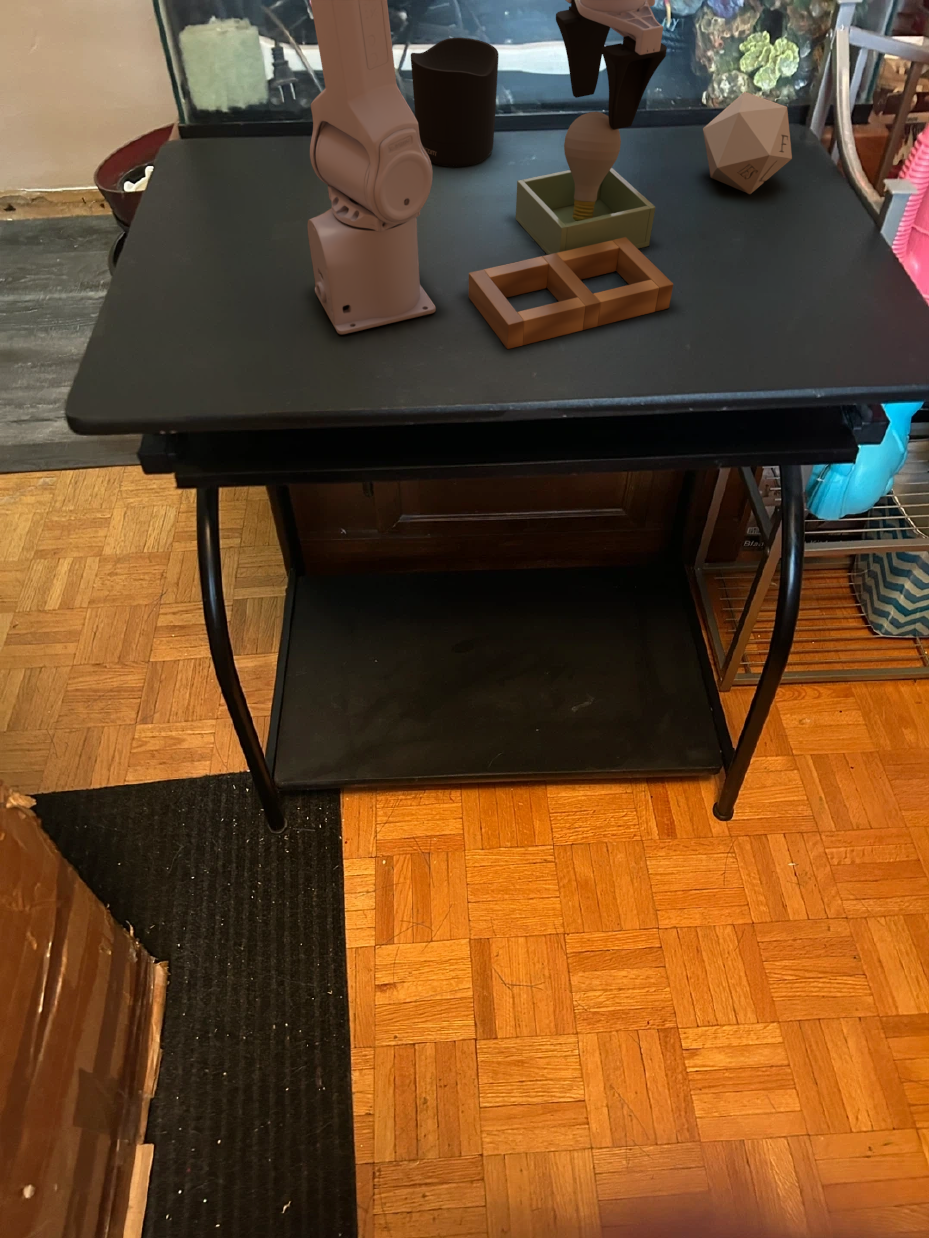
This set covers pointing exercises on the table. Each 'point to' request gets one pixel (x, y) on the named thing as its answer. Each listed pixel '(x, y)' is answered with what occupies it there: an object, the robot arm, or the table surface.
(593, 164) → the light bulb
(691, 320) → the table surface
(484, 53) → the pen holder
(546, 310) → the frame
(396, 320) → the robot arm
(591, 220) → the basin
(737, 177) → the die
